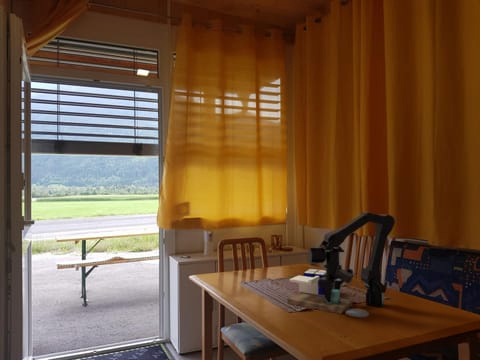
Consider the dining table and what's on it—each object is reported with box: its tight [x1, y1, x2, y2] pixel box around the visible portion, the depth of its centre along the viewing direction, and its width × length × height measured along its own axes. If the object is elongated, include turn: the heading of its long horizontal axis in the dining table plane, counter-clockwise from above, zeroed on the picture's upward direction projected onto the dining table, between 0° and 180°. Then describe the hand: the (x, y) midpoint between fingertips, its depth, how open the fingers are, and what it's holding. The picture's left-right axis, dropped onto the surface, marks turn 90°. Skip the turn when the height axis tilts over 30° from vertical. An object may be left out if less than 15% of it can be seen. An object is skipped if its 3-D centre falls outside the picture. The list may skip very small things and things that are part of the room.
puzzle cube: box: [302, 268, 326, 296], centre depth 177 cm, size 10×10×10 cm
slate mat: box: [344, 308, 369, 318], centre depth 146 cm, size 9×9×1 cm
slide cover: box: [289, 275, 319, 294], centre depth 163 cm, size 10×10×8 cm
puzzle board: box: [287, 292, 354, 315], centre depth 158 cm, size 24×14×2 cm, turn 54°
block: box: [326, 289, 341, 305], centre depth 155 cm, size 4×4×7 cm
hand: (333, 299), depth 155 cm, fingers open, 9 cm apart
